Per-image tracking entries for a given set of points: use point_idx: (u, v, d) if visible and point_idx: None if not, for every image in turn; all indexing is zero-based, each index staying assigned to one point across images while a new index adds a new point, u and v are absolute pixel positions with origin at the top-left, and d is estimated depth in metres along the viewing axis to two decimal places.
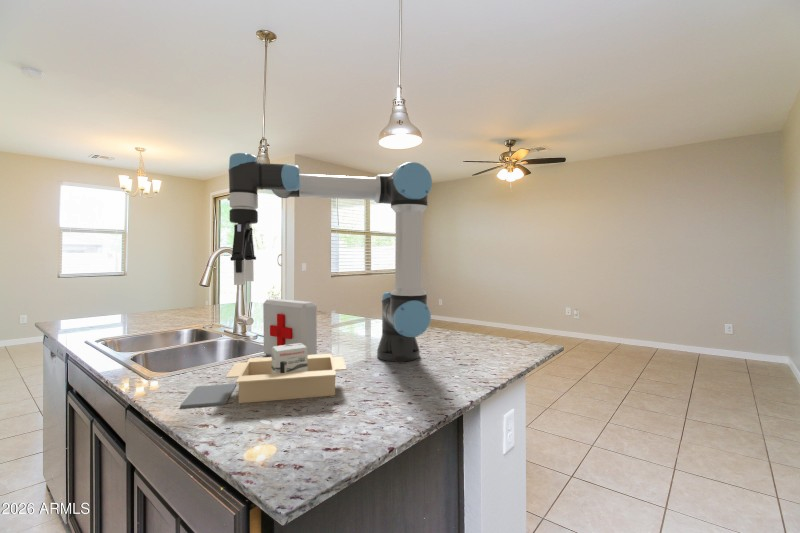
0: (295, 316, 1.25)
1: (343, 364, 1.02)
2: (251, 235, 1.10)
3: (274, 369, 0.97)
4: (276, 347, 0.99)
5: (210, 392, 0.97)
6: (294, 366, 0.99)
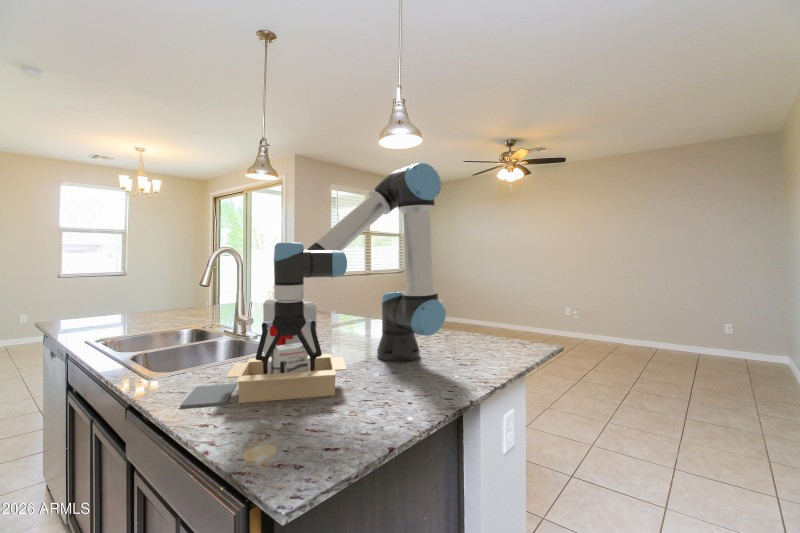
0: None
1: (343, 364, 1.02)
2: (293, 329, 0.99)
3: (274, 369, 0.97)
4: (276, 347, 0.99)
5: (210, 392, 0.97)
6: (294, 366, 0.99)
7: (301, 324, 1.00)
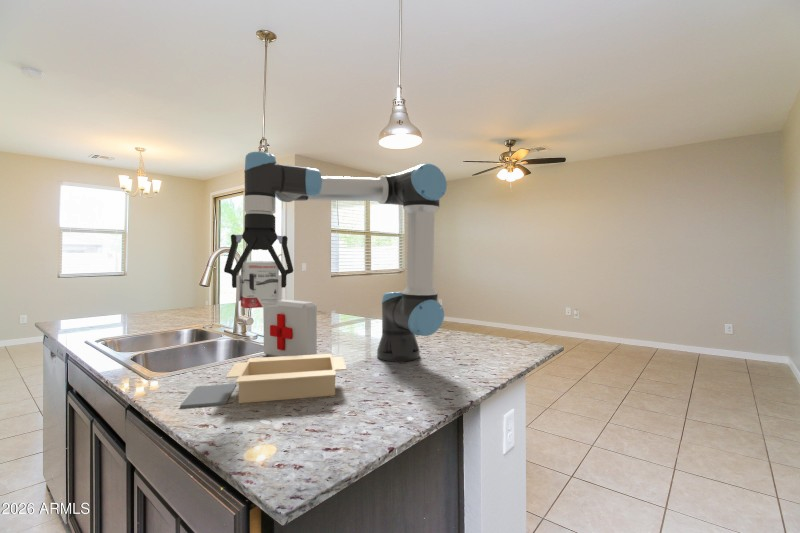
0: (295, 316, 1.25)
1: (343, 364, 1.02)
2: (263, 242, 0.96)
3: (243, 282, 0.95)
4: (246, 261, 0.97)
5: (210, 392, 0.97)
6: (264, 281, 0.96)
7: (272, 238, 0.97)
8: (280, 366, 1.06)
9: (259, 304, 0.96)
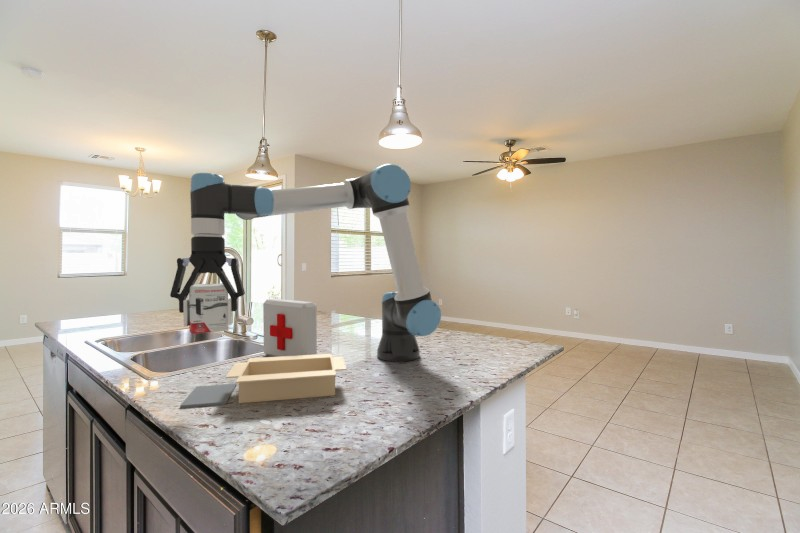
0: (295, 316, 1.25)
1: (343, 364, 1.02)
2: (211, 266, 0.93)
3: (190, 307, 0.92)
4: (194, 285, 0.94)
5: (210, 392, 0.97)
6: (212, 305, 0.94)
7: (220, 261, 0.95)
8: (280, 366, 1.06)
9: (206, 329, 0.93)
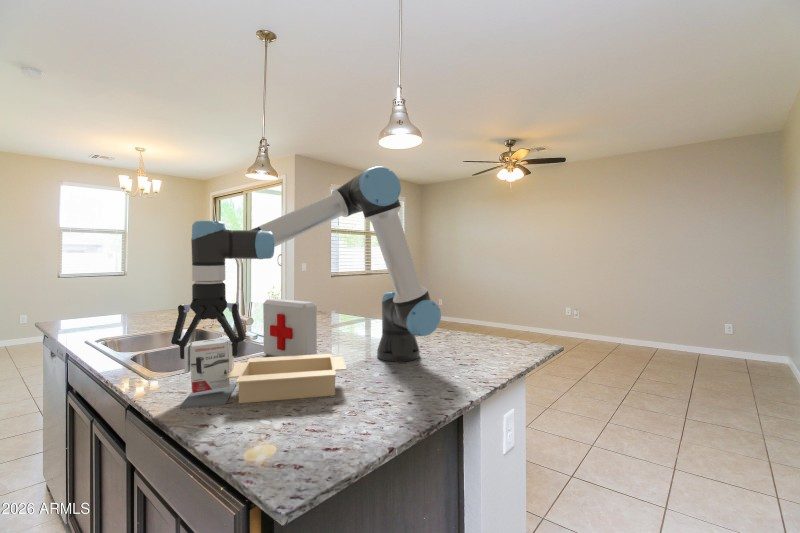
0: (295, 316, 1.25)
1: (343, 364, 1.02)
2: (212, 312, 0.94)
3: (191, 365, 0.93)
4: (194, 342, 0.95)
5: (210, 392, 0.97)
6: (213, 362, 0.94)
7: (221, 307, 0.95)
8: (280, 366, 1.06)
9: (208, 387, 0.94)
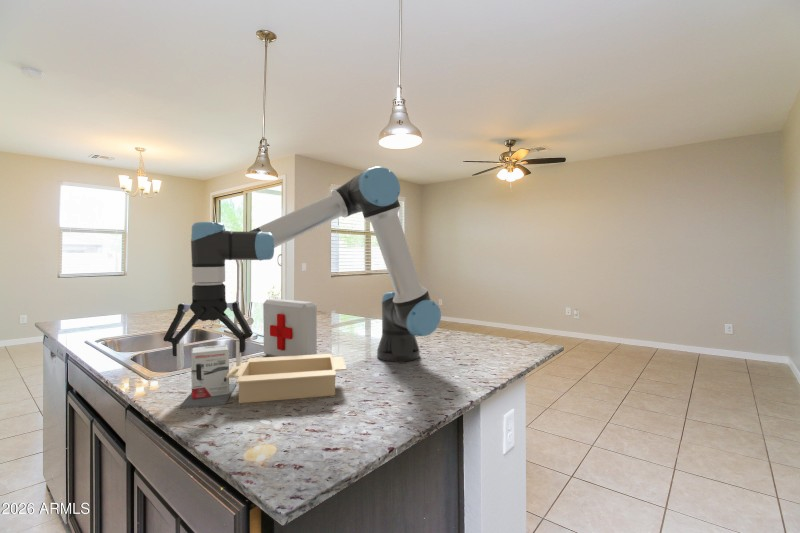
0: (295, 316, 1.25)
1: (343, 364, 1.02)
2: (213, 313, 0.94)
3: None
4: (196, 348, 0.95)
5: None
6: (213, 369, 0.94)
7: (222, 308, 0.95)
8: (280, 366, 1.06)
9: (207, 394, 0.94)
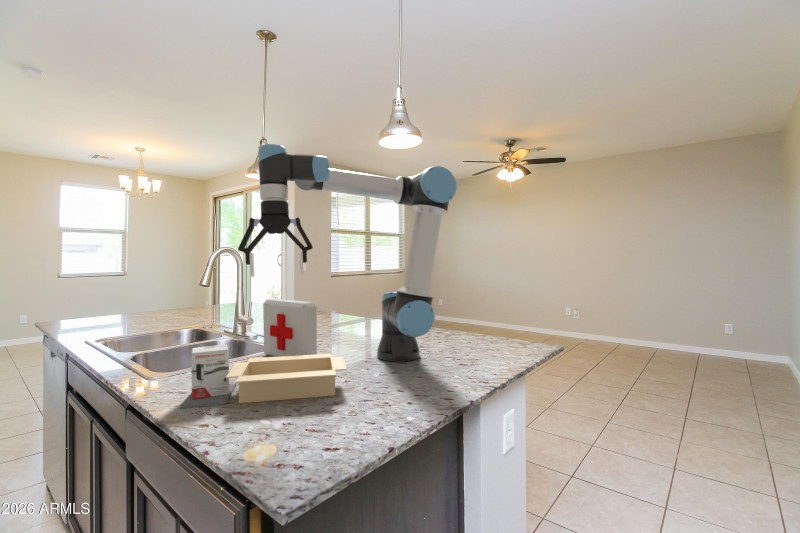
0: (295, 316, 1.25)
1: (343, 364, 1.02)
2: (280, 226, 1.06)
3: (191, 372, 0.93)
4: (196, 348, 0.95)
5: None
6: (213, 369, 0.94)
7: (287, 222, 1.07)
8: (280, 366, 1.06)
9: (207, 394, 0.94)
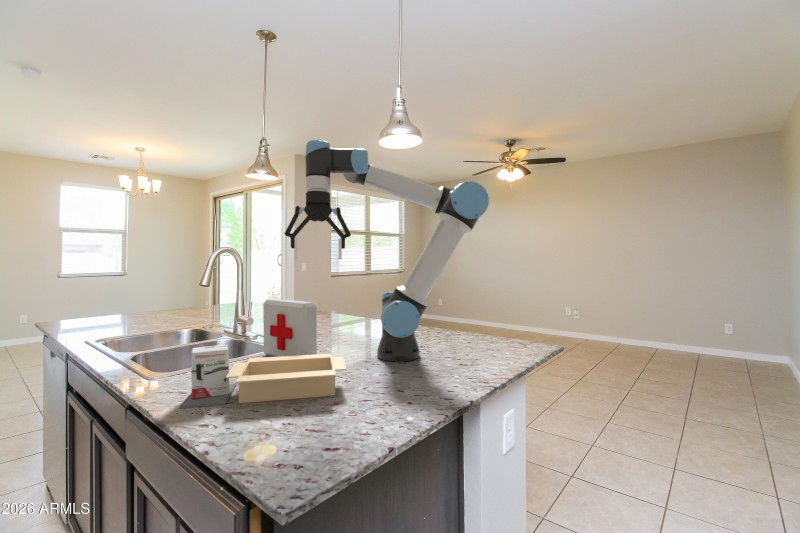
0: (295, 316, 1.25)
1: (343, 364, 1.02)
2: (322, 215, 1.17)
3: (191, 372, 0.93)
4: (196, 348, 0.95)
5: None
6: (213, 369, 0.94)
7: (328, 211, 1.18)
8: (280, 366, 1.06)
9: (207, 394, 0.94)
